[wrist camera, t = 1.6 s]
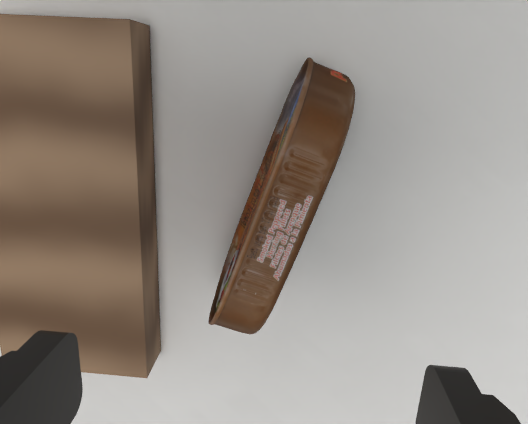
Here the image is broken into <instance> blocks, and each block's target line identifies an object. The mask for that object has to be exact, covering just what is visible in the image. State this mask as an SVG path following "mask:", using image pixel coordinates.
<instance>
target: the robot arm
mask: <svg viewBox="0 0 528 424" xmlns="http://www.w3.org/2000/svg"><path fill="white" fill-rule="evenodd" d="M81 398H82V378H81V368H80V358H79V348H78V340H77V337H76V335H75V334H74V333H68V332H57V331H45V330H40V331H38V332H36V333H35V334H34V335H33V336H32V337H31V338H30V339H29V340H28V341H26V342H25V343H24V344H23V345H22V346H21V347H20V348H19V349H18V350H17V351H10V352H8V353H6V354H5V355H3V356H1V357H0V424H70V423H71V422H72V420H73V419H74V417H75V416H76V413H77V411H78V409H79V406H80V403H81ZM416 424H521V423H520V422H519V420H518V418H517V417H516V415H515V414H514V413H513V412H511V411H510V410H509V409H508V408H507V407H506V406H505V405H504V404H502V403H501V402H500V401H499V400H498V399H497V398H496V397H494V396H493V395H485V394H481V392H480V390H479V389H478V387H477V385H476V383H475V382H474V380H473V378H472V376H471V375H470V373H469V372H468V370H467V369H465V368H458V367H447V366H435V365H429V366H428V367H427V369H426V371H425V376H424V381H423V386H422V391H421V397H420V402H419V407H418V412H417V418H416Z"/></svg>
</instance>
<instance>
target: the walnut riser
mask: <svg viewBox="0 0 528 424" xmlns="http://www.w3.org/2000/svg"><path fill="white" fill-rule="evenodd" d="M40 330H45V331H57V332H68V333H74V334H75V335H76V337H77V340H78V348H79V358H80V368H81V372H87V373H97V374H108V375H119V376H130V377H141V378H147V377H148V375H149V373H150V371H151V369H152V367H153V365H154V363H155V361H156V359H157V357H158V355H159V353H160V351H161V341H160V312H159V284H158V255H157V227H156V198H155V170H154V141H153V113H152V84H151V56H150V27H149V26H148V25H145V24H142V23H139V22H136V21H133V20H130V19H109V18H84V17H59V16H35V15H10V14H0V347H1V353H2V356H3V355H5V354H6V353H8V352H10V351H17V350H18V349H19V348H20V347H21V346H22V345H23V344H24V343H25V342H26V341H28V340H29V339H30V338H31V337H32V336H33V335H34V334H35V333H36V332H38V331H40Z"/></svg>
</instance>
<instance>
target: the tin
mask: <svg viewBox="0 0 528 424" xmlns="http://www.w3.org/2000/svg"><path fill="white" fill-rule="evenodd" d="M354 101H355V89H354V86H353V84H352V82H351V80H350V79H349V77H347V76H346V75H344V74H342V73H340V72H337V71H335V70H332V69H329V68H327V67H324V66H322V65H320V64H317V63H315V62H313V60H312V59H311V58H307V59H306V61H305V62H304V64H303V66H302V68H301V70H300V72H299V74H298V76H297V78H296V79H295V81H294V83H293V85H292V87H291V89H290V92H289V94H288V97H287V99H286V102H285V104H284V106H283V109H282V112H281V115H280V117H279V119H278V122H277V124H276V127H275V130H274V132H273V135H272V137H271V140H270V143H269V145H268V148H267V150H266V153H265V156H264V158H263V161H262V164H261V166H260V169H259V171H258V174H257V177H256V179H255V182H254V184H253V187H252V190H251V192H250V195H249V197H248V200H247V203H246V205H245V208H244V210H243V213H242V216H241V218H240V221H239V224H238V226H237V229H236V232H235V234H234V237H233V240H232V243H231V246H230V249H229V251H228V254H227V257H226V260H225V263H224V266H223V270H222V273H221V276H220V280H219V283H218V286H217V290H216V293H215V297H214V300H213V304H212V307H211V312H210V317H209V324H210V325H213V324H216V325H220V326H223V327H226V328H229V329H232V330H235V331H238V332H242V333H247V334H254V333H256V332H257V331H258V330H260V329H261V327H262V326H263V325H264V323H265V322H266V320H267V318H268V317H269V315H270V313H271V311H272V309H273V307H274V305H275V303H276V301H277V299H278V297H279V294H280V292H281V290H282V288H283V286H284V283H285V281H286V279H287V277H288V274H289V272H290V270H291V268H292V266H293V263H294V261H295V259H296V257H297V254H298V252H299V250H300V248H301V245H302V243H303V241H304V238H305V236H306V234H307V231H308V229H309V227H310V225H311V223H312V220H313V218H314V216H315V213H316V211H317V208H318V206H319V204H320V202H321V199H322V197H323V194H324V192H325V190H326V187H327V185H328V183H329V180H330V178H331V176H332V173H333V171H334V169H335V166H336V164H337V161H338V158H339V156H340V153H341V150H342V148H343V145H344V142H345V139H346V136H347V133H348V130H349V126H350V122H351V118H352V114H353V108H354Z"/></svg>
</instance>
